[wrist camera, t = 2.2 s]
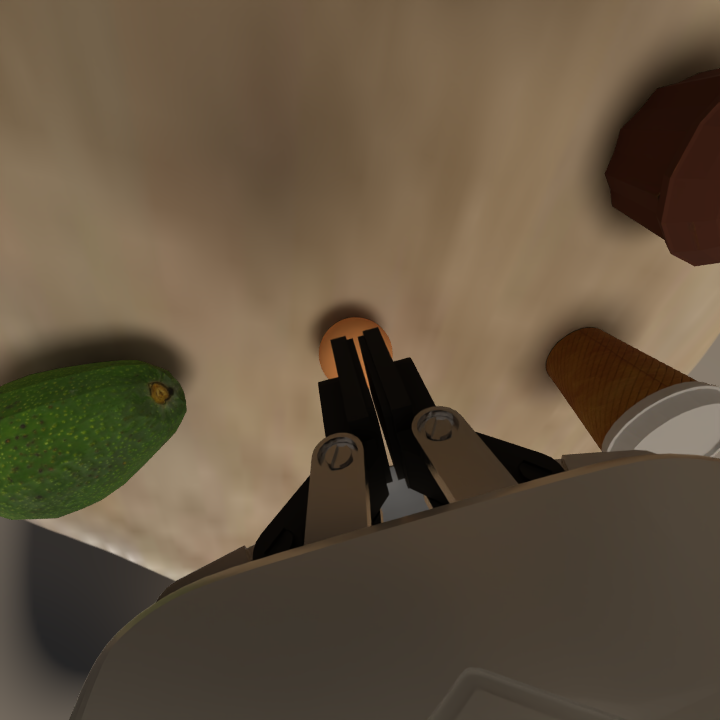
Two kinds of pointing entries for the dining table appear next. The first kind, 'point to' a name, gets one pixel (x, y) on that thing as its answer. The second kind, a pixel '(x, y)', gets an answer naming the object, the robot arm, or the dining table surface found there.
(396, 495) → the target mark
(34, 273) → the dining table surface
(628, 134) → the muffin
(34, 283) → the dining table surface
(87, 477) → the fruit
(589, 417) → the disposable coffee cup
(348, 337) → the ball
